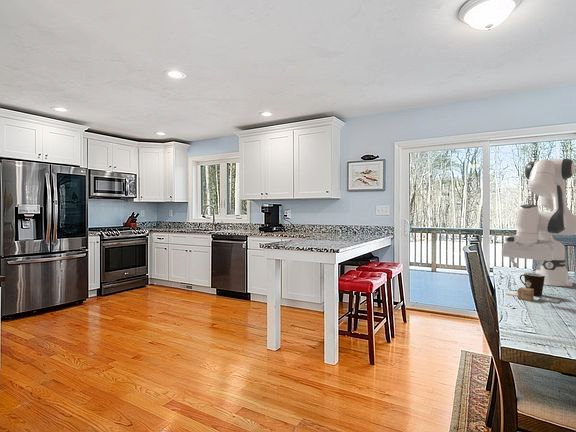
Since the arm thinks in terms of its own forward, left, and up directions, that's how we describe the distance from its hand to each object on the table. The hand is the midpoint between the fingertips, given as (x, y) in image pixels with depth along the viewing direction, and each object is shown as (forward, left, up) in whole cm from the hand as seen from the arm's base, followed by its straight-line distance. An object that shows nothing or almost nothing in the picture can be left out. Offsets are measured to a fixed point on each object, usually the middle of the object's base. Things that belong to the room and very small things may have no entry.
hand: (526, 268), depth 167 cm
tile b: (-6, -6, -15) cm, 17 cm away
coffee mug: (-15, -1, -15) cm, 21 cm away
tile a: (-6, +8, -15) cm, 18 cm away
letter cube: (0, 0, -15) cm, 15 cm away
